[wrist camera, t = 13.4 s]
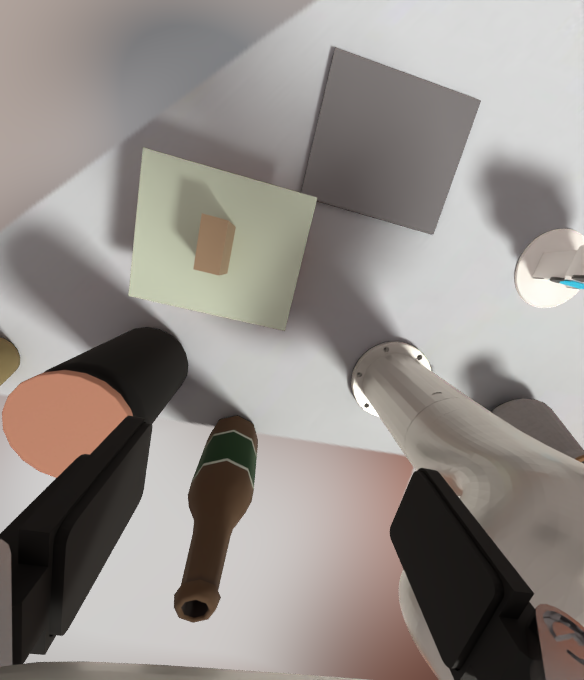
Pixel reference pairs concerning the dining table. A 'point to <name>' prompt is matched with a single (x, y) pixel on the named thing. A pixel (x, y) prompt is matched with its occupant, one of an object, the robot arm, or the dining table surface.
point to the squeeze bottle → (8, 360)
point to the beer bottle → (216, 512)
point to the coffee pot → (540, 425)
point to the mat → (387, 143)
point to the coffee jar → (92, 397)
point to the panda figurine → (551, 268)
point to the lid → (217, 241)
